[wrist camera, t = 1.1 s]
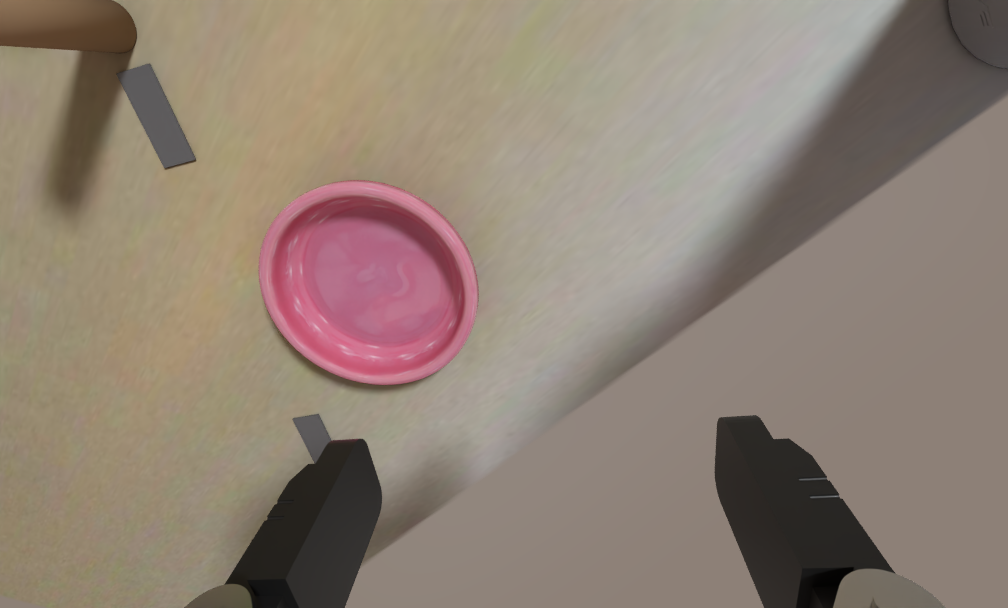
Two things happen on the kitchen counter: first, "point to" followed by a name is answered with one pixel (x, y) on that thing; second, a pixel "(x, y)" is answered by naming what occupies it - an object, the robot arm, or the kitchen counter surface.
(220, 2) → the kitchen counter surface
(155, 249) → the kitchen counter surface
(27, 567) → the kitchen counter surface
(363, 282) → the pink shallow bowl
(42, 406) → the kitchen counter surface
